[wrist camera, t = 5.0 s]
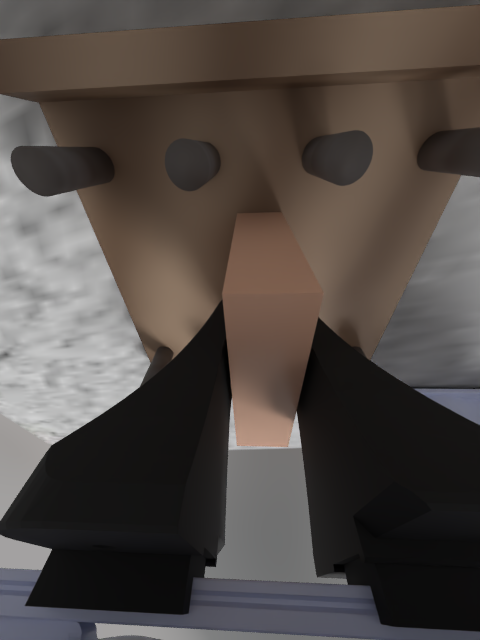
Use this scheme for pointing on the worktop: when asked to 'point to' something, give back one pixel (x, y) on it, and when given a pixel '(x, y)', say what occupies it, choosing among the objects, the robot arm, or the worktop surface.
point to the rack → (257, 152)
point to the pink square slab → (268, 326)
